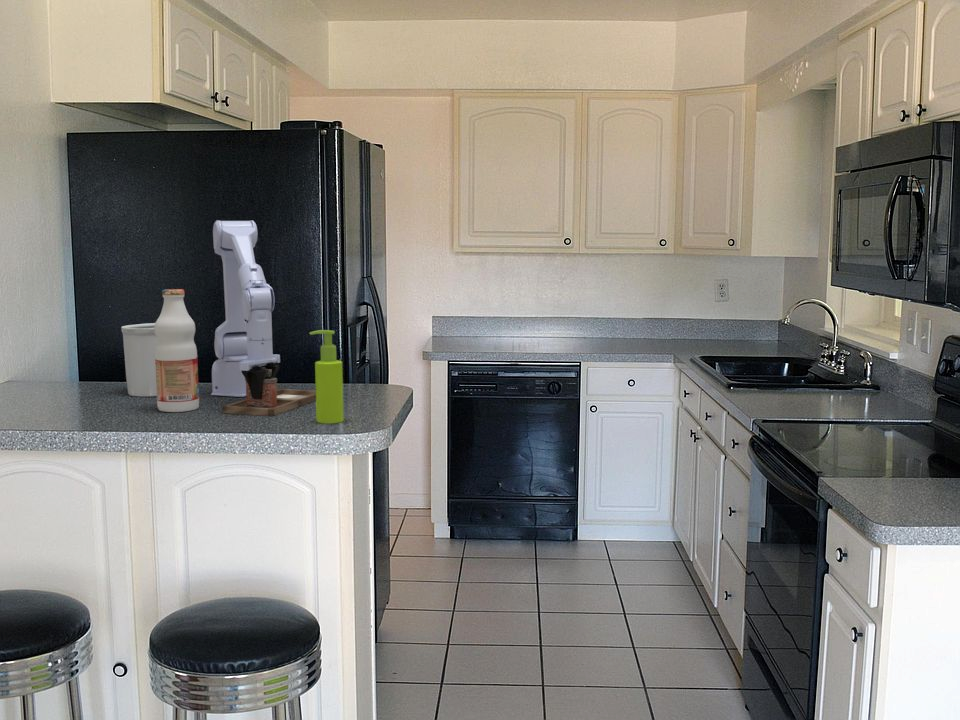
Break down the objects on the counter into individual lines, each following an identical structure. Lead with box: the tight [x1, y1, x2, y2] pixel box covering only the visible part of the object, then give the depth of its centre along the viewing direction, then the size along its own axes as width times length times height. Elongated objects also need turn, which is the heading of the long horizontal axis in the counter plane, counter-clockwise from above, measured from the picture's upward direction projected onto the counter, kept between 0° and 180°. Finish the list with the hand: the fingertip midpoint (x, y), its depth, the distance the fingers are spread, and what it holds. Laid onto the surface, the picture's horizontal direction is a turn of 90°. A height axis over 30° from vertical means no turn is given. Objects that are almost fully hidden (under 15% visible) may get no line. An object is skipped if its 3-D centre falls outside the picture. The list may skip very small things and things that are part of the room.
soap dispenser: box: [309, 329, 344, 424], centre depth 215 cm, size 6×7×20 cm
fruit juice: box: [154, 288, 200, 413], centre depth 229 cm, size 9×9×28 cm
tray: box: [221, 388, 316, 417], centre depth 236 cm, size 13×26×2 cm, turn 161°
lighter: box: [245, 367, 278, 409], centre depth 230 cm, size 8×3×10 cm, turn 71°
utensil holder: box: [120, 322, 157, 398], centre depth 253 cm, size 15×15×18 cm
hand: (261, 397), depth 230 cm, fingers open, 3 cm apart
